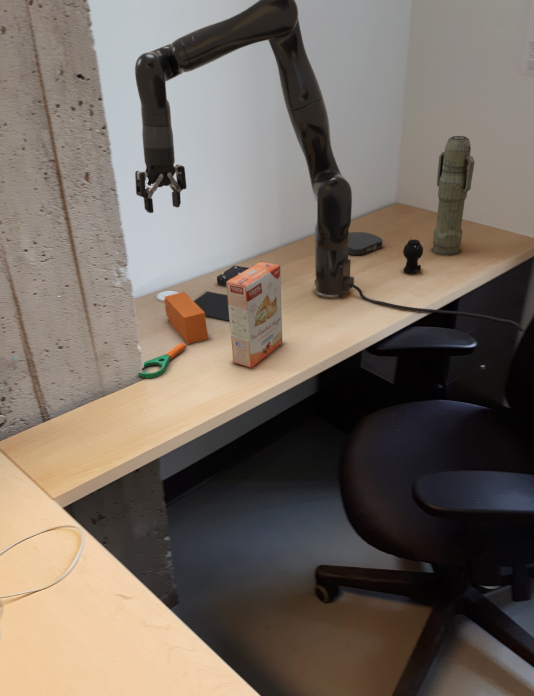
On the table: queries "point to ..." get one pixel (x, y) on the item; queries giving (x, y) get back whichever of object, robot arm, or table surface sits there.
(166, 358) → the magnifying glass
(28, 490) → the table surface
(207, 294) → the desk mat
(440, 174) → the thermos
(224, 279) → the disk drive
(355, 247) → the media streaming box
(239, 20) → the robot arm
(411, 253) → the gumball machine
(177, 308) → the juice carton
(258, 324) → the cracker box
